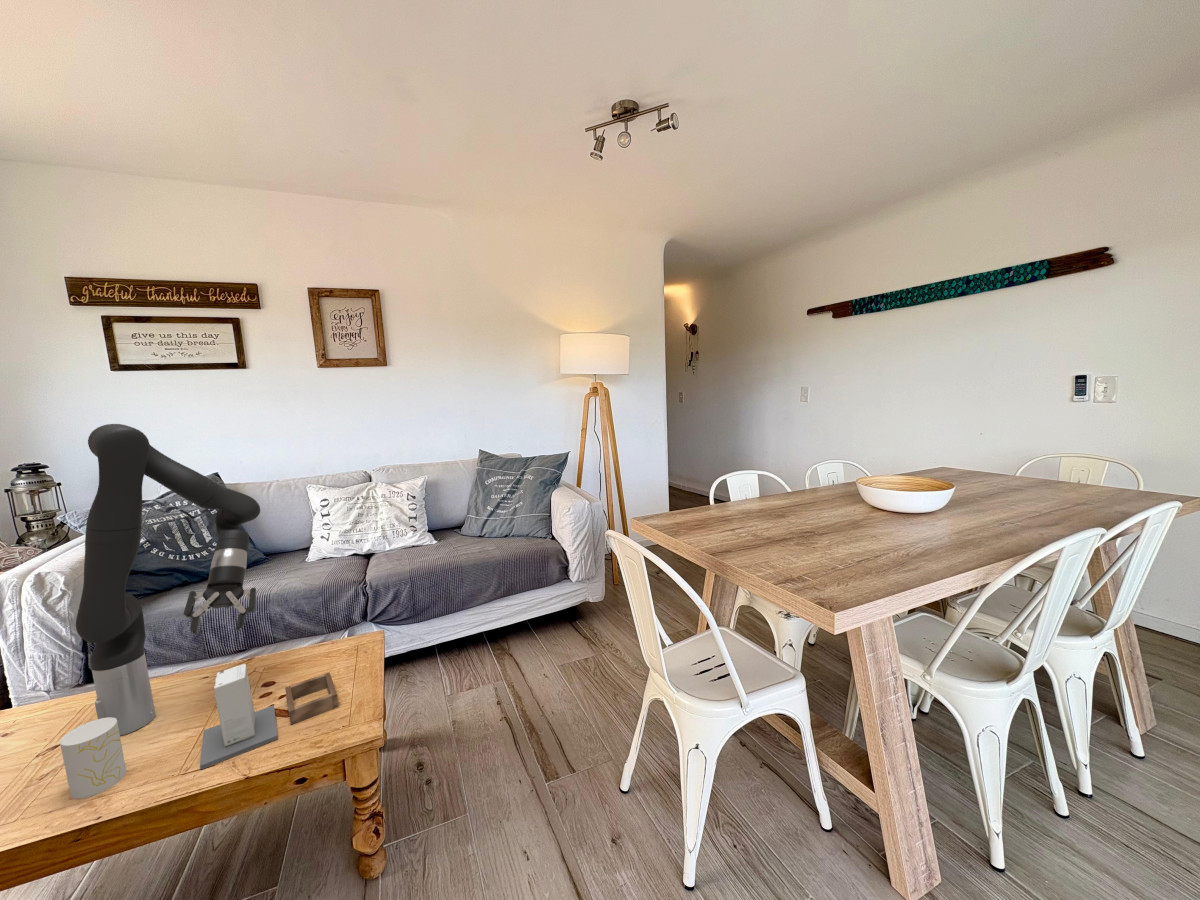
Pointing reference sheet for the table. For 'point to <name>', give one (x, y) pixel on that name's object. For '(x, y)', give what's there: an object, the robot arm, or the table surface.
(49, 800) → the table surface
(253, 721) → the skincare box
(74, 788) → the grey patterned cylinder
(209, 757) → the charcoal mat
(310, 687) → the walnut collar
